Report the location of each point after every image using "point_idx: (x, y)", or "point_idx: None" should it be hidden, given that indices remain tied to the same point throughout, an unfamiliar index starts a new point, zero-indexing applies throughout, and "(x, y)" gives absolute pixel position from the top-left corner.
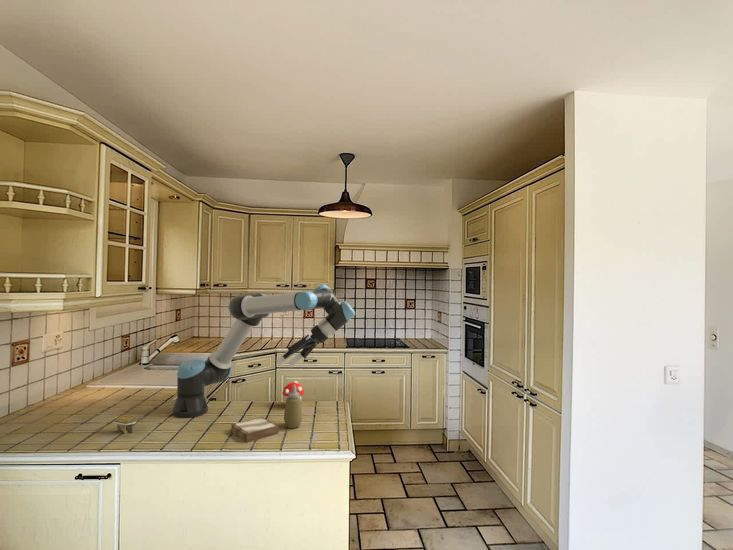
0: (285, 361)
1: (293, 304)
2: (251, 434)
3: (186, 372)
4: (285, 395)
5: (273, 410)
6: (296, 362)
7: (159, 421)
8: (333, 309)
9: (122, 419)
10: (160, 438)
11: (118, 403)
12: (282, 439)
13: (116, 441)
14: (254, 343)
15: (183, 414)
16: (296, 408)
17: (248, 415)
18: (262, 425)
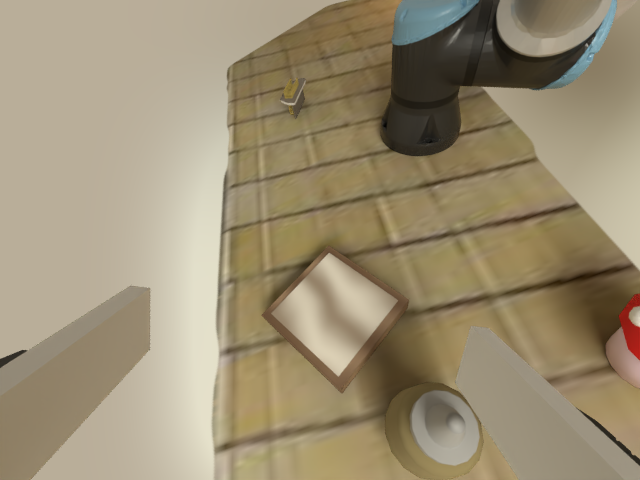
0: (99, 397)
1: None
2: (271, 324)
3: (395, 24)
4: (621, 317)
5: (543, 298)
6: (500, 446)
7: (354, 118)
8: None
9: (286, 87)
10: (277, 161)
11: None
12: (297, 426)
13: (261, 122)
14: None
15: (381, 131)
16: (403, 456)
17: (457, 245)
18: (331, 332)
